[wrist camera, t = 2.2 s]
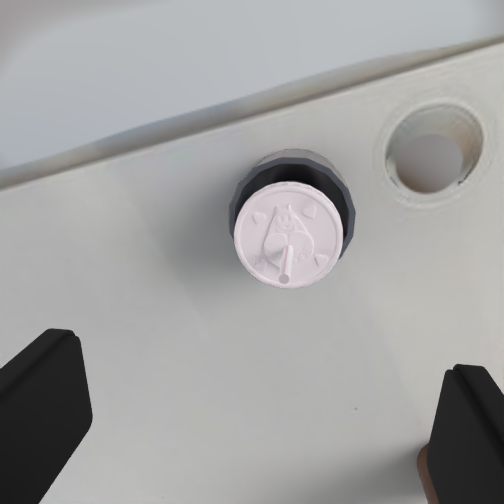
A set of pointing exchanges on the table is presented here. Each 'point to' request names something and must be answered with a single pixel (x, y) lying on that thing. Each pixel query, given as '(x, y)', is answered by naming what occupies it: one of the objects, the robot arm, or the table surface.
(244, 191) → the grey cup holder
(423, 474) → the stand
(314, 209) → the smoothie
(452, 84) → the table surface
